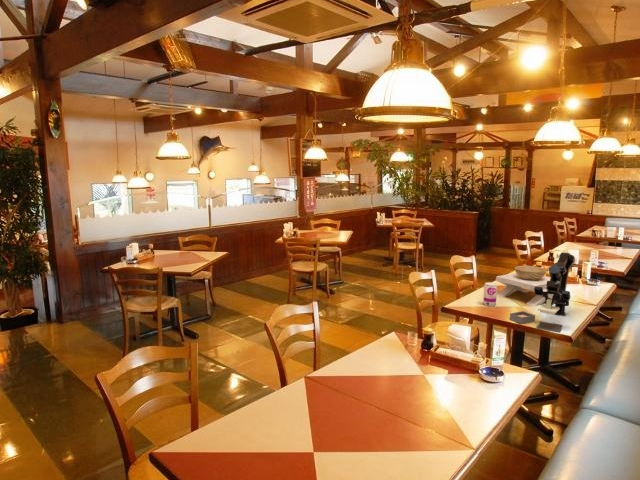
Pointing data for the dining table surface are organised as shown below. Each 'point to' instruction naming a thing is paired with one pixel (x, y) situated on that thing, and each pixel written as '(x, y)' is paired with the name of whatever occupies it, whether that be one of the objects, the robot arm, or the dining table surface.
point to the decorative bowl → (525, 282)
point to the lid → (548, 308)
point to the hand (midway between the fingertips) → (548, 305)
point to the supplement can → (490, 294)
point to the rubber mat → (549, 326)
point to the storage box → (522, 317)
